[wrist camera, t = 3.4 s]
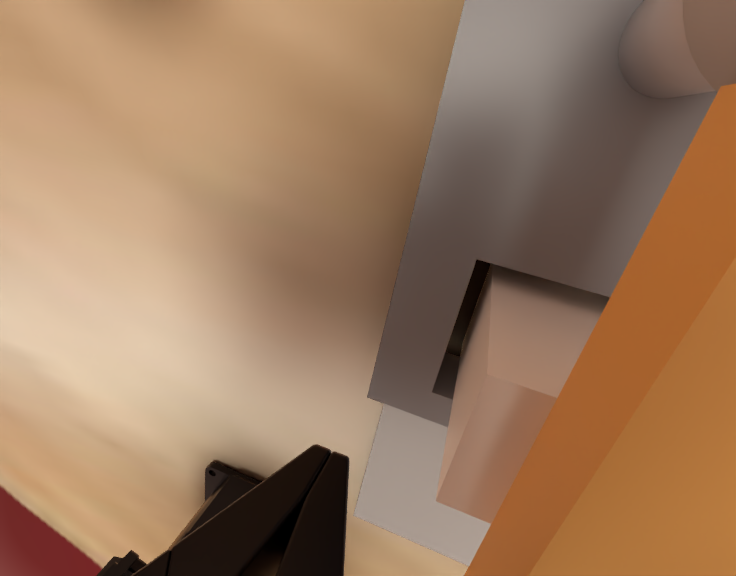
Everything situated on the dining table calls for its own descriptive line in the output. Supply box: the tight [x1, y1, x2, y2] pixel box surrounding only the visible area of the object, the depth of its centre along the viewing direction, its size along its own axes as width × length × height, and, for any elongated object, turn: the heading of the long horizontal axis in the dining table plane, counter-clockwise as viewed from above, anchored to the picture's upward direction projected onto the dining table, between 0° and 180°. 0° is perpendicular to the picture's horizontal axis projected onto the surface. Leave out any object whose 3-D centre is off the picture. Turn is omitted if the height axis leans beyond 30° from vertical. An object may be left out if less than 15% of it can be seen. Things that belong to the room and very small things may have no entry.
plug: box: [436, 263, 610, 524], centre depth 12 cm, size 4×4×8 cm
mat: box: [353, 404, 491, 566], centre depth 19 cm, size 9×9×1 cm
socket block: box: [367, 0, 717, 427], centre depth 10 cm, size 15×10×8 cm, turn 169°
